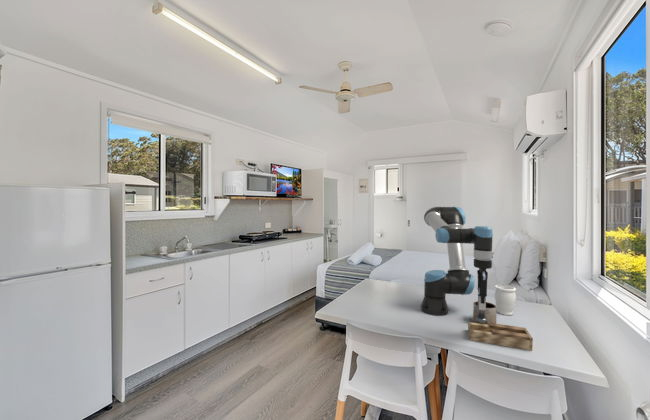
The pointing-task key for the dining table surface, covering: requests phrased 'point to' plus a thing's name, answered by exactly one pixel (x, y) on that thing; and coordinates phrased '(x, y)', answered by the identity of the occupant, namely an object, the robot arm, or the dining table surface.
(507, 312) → the jar
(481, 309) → the robot arm
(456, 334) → the dining table surface
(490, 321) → the planter
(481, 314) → the metal hex bolt
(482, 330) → the rail
